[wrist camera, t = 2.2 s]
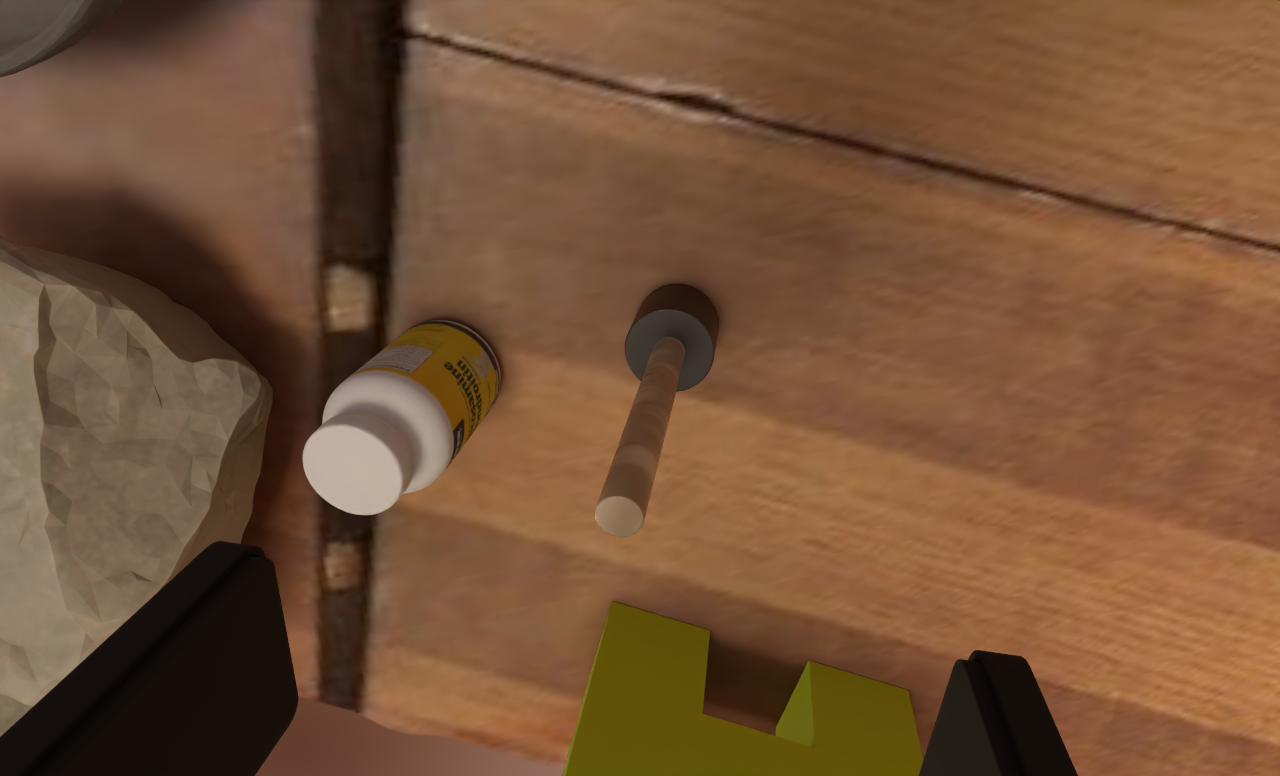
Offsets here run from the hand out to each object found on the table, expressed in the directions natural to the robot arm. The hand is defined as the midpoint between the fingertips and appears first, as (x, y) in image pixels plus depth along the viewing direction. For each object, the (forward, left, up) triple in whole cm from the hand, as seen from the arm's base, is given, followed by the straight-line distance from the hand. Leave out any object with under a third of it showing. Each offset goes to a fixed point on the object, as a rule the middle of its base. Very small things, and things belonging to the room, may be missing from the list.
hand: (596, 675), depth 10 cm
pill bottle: (+15, +10, -30) cm, 35 cm away
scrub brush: (+2, +6, -30) cm, 31 cm away
